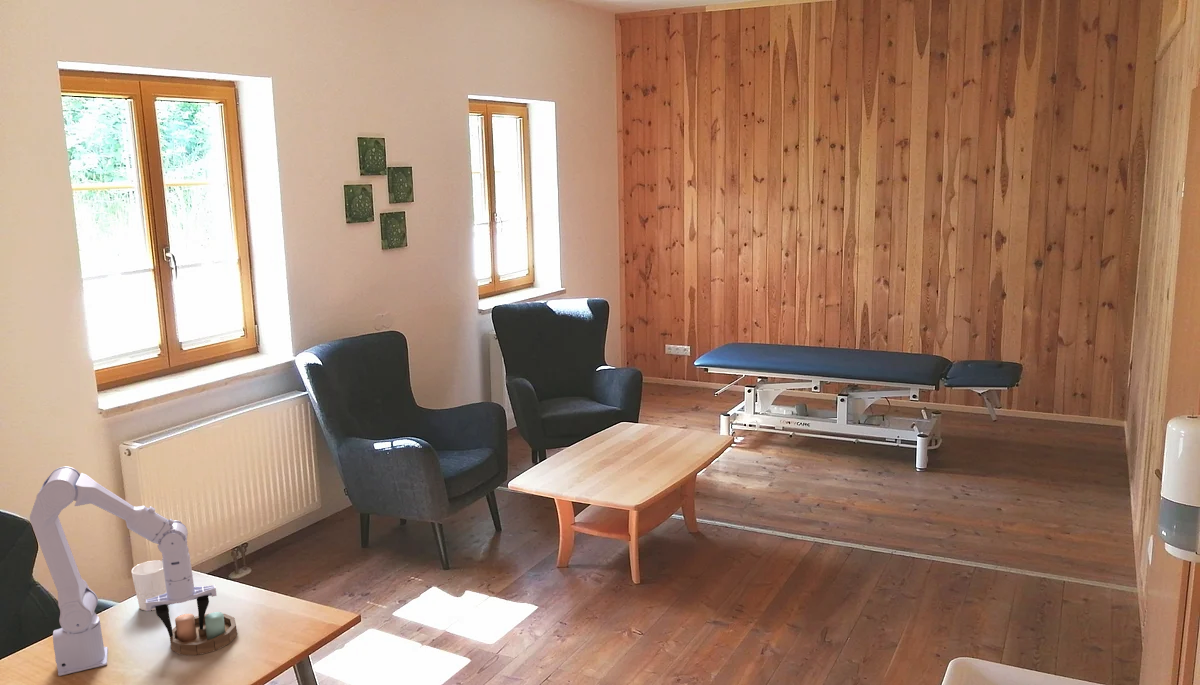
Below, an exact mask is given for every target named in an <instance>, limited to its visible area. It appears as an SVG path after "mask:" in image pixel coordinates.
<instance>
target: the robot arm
mask: <svg viewBox="0 0 1200 685" xmlns="http://www.w3.org/2000/svg"><path fill="white" fill-rule="evenodd" d="M74 501H75V503H74V507H80V506H84V505H90V504H91V505H93V506H96V507H98V508H99V509H101V510H104V511H106V512H108V513H110V514H112V515H114V516H115V517H118V518H119V519H122V520H124V522H125V525H126V528H127V529H128V530H130V531H131V532H133V533H135V534H137V535H138V536H140V537H142V538H144V539H146V540H147V541H149V542H150V543H153V544H157V548H158V551H160V553H161V555H162V559H161V561H162V563H163V570H164V577H165V584H166V591H167V593H165V594H162V595H159V596H156V597H153V598H150V599H146V607H147V612H149V610H152V608H156V610H155V614H156V615H157V617H158V618H159V619H160V620H161V622H162V623H163V624H164V626H165V628H166V630H167V632H168V633H167V634H168V636H169V637H170V636H173V632H172V630H173V626H172V622H171V618H170V617H171V616H170V611H169V610H170V609H169V605H174V604H180V603H181V604H182V603H186V602H188V601H192V600H196V604H197V611H198V612H197V613H198V615H197V616H199V627H200V629H203V621H204V616H205V614H206V611H207V608H208V607H209V604H210V600H209V598H210V597H217V589H216V584H213V585H211V584H210V585H205V586H203V585H202V586H201V585H199V586H195V584H194V577H193V569H192V563H191V561H192V560H191V554H190V553H189V550H190V549H189V545H188V534H189V533H188V528H187V526H186V525H185V524H184V523H183V522H182V521H180V520H174V519H172V518H169V519H168V518H166V517H165V516H163V515H161V514H159V513H157V512H156V508H155V507H153V506H151V505H150V506H148V507H147V506H146V505H138V506H134V505H133V504H130V502H128V501H127V500H125V499H123V498H121V497H120V496H119V495H117V494H115V492H113V491H111V490H109V489H107V487H105V486H103V485H101V484H100V483H99V482H97V481H96V480H95V479H93V478H92V477H90V476H89V475H88V474H86V473H83V472H81V473H80V472H79V470H77V469H76V468H75V467H72V466H68V465H67V466H60V467H58V468H55V469H54V470H53V471H52V472H51V473H50V474H49V475H48V477H47V478H46V479H45V480H44V481H43V484H42V486H41V487H40V489H39V491H38V493H37V494H36V497H35V500H34V504H33V506H32V508H31V513H30V515H29V522H30V524H31V527H32V530H33V533H34V534H35V537H36V539H37V543H38V545H39V546H40V551H41V553H42V556H43V558H44V560H45V562H46V565H47V567H48V571H49V573H50V575H51V578H52V580H53V584H54V586H55V589H56V591H57V603H58V604H57V605H58V608H59V612H60V613H59V614H60V615H59V619H58V621H59V625H60V628H57V629H54V630H53V632H52V643H53V644H52V645H53V650H54V658H55V659H54V660H55V663H56V668H57V676H58V677H61V676H65V675H68V674H74V673H78V672H82V671H87V670H91V669H95V668H100V667H102V666H106V665H107V664H108V654H109V652H108V648H109V647H108V646H105V645H104V639H103V634H102V633H103V631H102V626H101V620H100V617H99V615H98V614H97V613H96V611H95V610H96V608H97V606H98V602H99V598H98V595H97V594H96V593H95V591H93V590H92V589H91V588H90V587H89V585H88V583H87V581H86V580H85V579H83V578H82V576H81V573H80V570H79V568H78V565H77V562H76V559H75V557H74V554H73V553H72V550H71V546H70V544H69V542H68V539H67V536H66V533H65V531H64V528H63V525H62V522H61V520H60V518H59V517H60V516H59V515H60V514H61V512H62V511H63V510H64V509H66V508H67V507H69V506H70V505H71V504H72V503H73V502H74ZM152 611H153V610H152Z"/></svg>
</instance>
